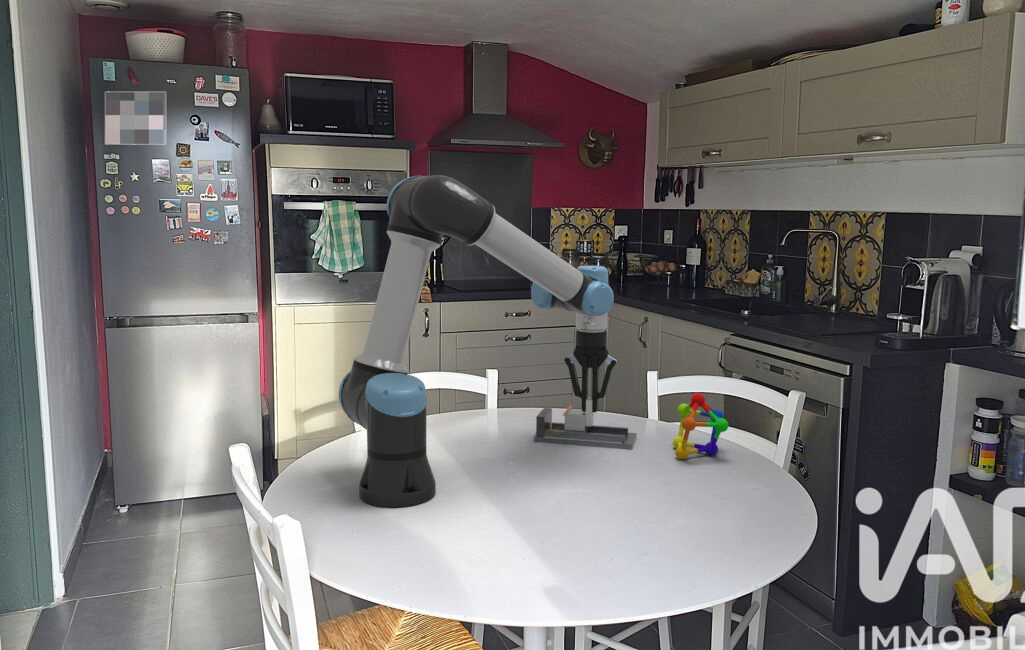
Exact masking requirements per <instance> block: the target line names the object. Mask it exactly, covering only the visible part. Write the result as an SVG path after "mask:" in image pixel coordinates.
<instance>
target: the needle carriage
mask: <svg viewBox="0 0 1025 650" xmlns="http://www.w3.org/2000/svg"><path fill="white" fill-rule="evenodd" d="M562 415H563V416H564V423H565V425H564V431H573V432H586V433H587V431H588V426H586V412H582V408H581V409H580V408H573V405H572V404H570V405H569V406H568V407H567V409H566V410H565V411H564V413H563V414H562Z"/></svg>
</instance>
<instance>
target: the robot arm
mask: <svg viewBox="0 0 1025 650" xmlns="http://www.w3.org/2000/svg"><path fill="white" fill-rule="evenodd" d="M386 212H387V215H388V217H389V220H388V224H387V225H388V226H387V229H386V234H387V236H388V237H389V239H390V242H391V243H390V247H389V251H388V255H387V259H386V262H385V263H386V264H385V265H384V266H385V267H384V270H383V275H382V278H381V283H380V286H379V290H378V295H377V297H376V302H375V306H374V309H373V315H372V317H371V321H370V326H369V330H368V333H367V337H366V341H365V345H364V349H363V351H362V353H360V354H358V355H357V356H354V358H353V361H352V366H351V368H350V369H351V370H350V371H349V372H348V373H346V375H345V376H344V377H343V378H342V380H341V382H340V384H339V387H338V401H339V404H340V407H341V410H342V411H343V413H345V414H346V416H347V417H348V418H349V419H350V420H351V421H352V422H354V423H355V424H357V425H359V426H361V427H362V428H363V429H365V430H366V447H367V449H366V450H367V453H366V461H365V465H364V468H363V470H362V474H361V476H360V480H359V484H358V496H359V498H360V500H361V501H363V502H364V503H366V504H370V505H373V506H377V507H385V508H386V507H387V508H400V507H409V506H415V505H419V504H422V503H425V502H428V501H429V500H432V499H433V498H434V497H435V496H436V491H437V490H436V489H437V488H436V487H437V483H436V479H435V476H434V474H433V470H432V467H431V465H430V461H429V458H428V456H427V405H428V397H427V393H426V391H427V390H426V385H425V383H424V382H423V381H422V379H420V378H419V377H417V376H414V375H413V374H412V375H411V374H408V373H409V370H408V368H407V367H406V364H405V362H404V360H405V355H406V352H407V348H408V344H409V340H410V337H411V332H412V329H413V324H414V321H415V317H416V312H417V310H418V305H419V302H420V297H421V293H422V289H423V286H424V282H425V280H426V279H425V278H426V274H427V270H428V267H429V263H430V259H431V255H432V253H433V252H434V251H435V250H437V249H438V248H441V246H442V245H441V244H442V241H443V237H444V236H445V235H446V236H448V237H452V238H454V239H456V240H458V241H460V242H461V243H463V244H465V245H466V246H468V247H469V246H470V247H471V246H473V245H476V246H477V247H478V248H480V249H482V250H483V251H485V252H487V253H488V254H489V255H491V256H493V257H494V258H495V259H497V260H499V261H500V262H502V263H503V264H505V265H507V266H508V267H509V268H511V269H512V270H514V271H516V272H517V273H519V274H520V275H522V276H523V277H525V278H527V279H528V280H530V281H531V282H532V284H531V287H530V297H531V301H532V303H533V305H534V306H535V307H536V308H537V309H541V310H543V309H545V310H550V309H558V310H559V309H560V310H563V311H567V312H573V313H575V328H576V329H577V330H576V331H575V345H574V346H575V348H574V350H573V351H572V352H573V353H572V354H570V355H567V356H566V357H564V360H563V361H564V363H565V364H566V365H567V367H568V371H569V376H570V380H571V382H570V383H571V385H572V391H573V394H574V396H575V397H578V398H580V399H581V410H582V412H586V426H592V425H594V413H597V412H598V411H599V399H603V398H605V396H606V394H607V391H608V388H609V383H610V380H611V376H612V373H613V369H614V367H615V366H616V364H617V363H618V359H617V358H613V357H612V356H610V354H609V351H608V348H607V343H608V333H607V331H606V329H608V313H609V312H610V311H611V308H612V307H613V305H614V300H615V296H614V291H613V289H612V288H611V286H610V285H609V271H608V268H606V267H605V266H603V265H579V266H578V267H577V268H575V267H574V266H573V265H571V264H570V263H569V262H567V261H565V260H564V259H562V258H561V257H560V256H559V255H557V254H556V253H554V252H552V251H551V250H550V249H548V248H547V247H545V246H544V245H542V244H541V243H540V242H538V241H536V240H535V239H533V238H532V237H531V236H529V235H528V234H526V233H525V232H523V230H520V228H518V227H516V226H515V225H513V224H512V223H511V222H509V221H508V220H506V219H505V218H503V217H502V216H500V215H499V214H497V213H496V207H495V206H494V204H492V203H491V202H489V201H488V200H486V199H485V198H483V197H482V196H480V195H479V194H478V193H476V192H475V191H474V190H472V189H471V188H469V187H468V186H466V185H465V184H463V183H462V182H460V181H458V180H456V179H454V178H453V177H450V176H447V175H443V174H442V175H441V174H438V175H437V174H436V175H435V174H434V175H433V174H432V175H423V176H422V175H414V176H409V177H406V178H405V179H403V180H400V181H399V182H398V183H396V184H395V185H394V186H393V188H392V189H391V190H390V192H389V195H388V196H387V201H386ZM576 361H577V362H578V364H579V365H580V366H581V387H580V383H579V377H578V374H577V368H576V364H575V362H576ZM605 361H606V365H607V368H606V370H605V372H604V378H603V381H602V385H601V388H600V387H599V384H600V381H599V380H600V367H601V366H602V365H603V364H604V363H605ZM589 369H591V372H592V378H591V379H592V380H591V381H592V382H591V383H592V384H591V396H592V397H589V371H590V370H589ZM599 388H600V389H599ZM599 390H600V391H599Z"/></svg>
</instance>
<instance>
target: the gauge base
mask: <svg viewBox="0 0 1025 650" xmlns="http://www.w3.org/2000/svg"><path fill="white" fill-rule="evenodd" d="M535 421H536V423H535V424H536V425H535V426H536V427H535V429H536V430H535V431H536V432H535V433H536V434H535V435H534V436H533V442H535V443H536V442H537V443H547V444H548V443H549V444H559V445H561V444H562V445H573V446H585V447H586V446H587V447H597V448H598V447H599V448H609V449H610V448H611V449H625V450H633V448H634V446H635V443H636V441H637V437H638V434H637V433H636V432H629V427H623V426H622V427H621V426H608V425H597V424H596V425H594V424H593V425H592V426H588V431H587V433H586V432H573V431H564V425H565V422H556V421H555V422H553V408H552V407H543V409H542V410H541V411H540V412H539V413H538V414H537V416H536V420H535Z"/></svg>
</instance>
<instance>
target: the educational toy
mask: <svg viewBox="0 0 1025 650" xmlns="http://www.w3.org/2000/svg"><path fill="white" fill-rule="evenodd" d="M699 407H701V408H702V409H703V410H704V411H703V410H698V408H699ZM677 412H678V415H680V421H679V428H678V429H679V430H678V436H675V437H674V439H673V440H672V446H673V447H674V448H675V457H676V458H678V459H679V460H686V459H687V458H688V457H689V456H690V455H691V454H693V455H694V454H700V453H705V454H707V455H708V456H710V455H713V456H715V455H717V453H718V451H719V447H718V445H717V442H718V439H719V438H720V435H721V433H723V432H726V431H727V430H728V429H729V422H728V421H727V420H726V418H725V415H724V413H723V411H722V410H720V409H714V410H713V409H712V408H711V407H710V406H709V405H708V404H707V403H706V398H705V396H704V394H702V393H700V392H696V393H694V394H693V395H692V396H691V402H689V403H688V404H687V403H681V404H679V405H678V407H677ZM696 415H697V416H702V417H707V418H710V420H711V421H712V422H704V421H703V422H701V421H696V420H695V419H694V418H695V417H696ZM696 427H698V428H699V427H701V428H712V431H711V435H710V441H708V442H707V443H705V444H700V443H699V444H698V443H695V442H688V440H689V437H690V433H691V432H692V431H694V430H695V429H696ZM688 447H689V448H690V449H689V448H688Z"/></svg>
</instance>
